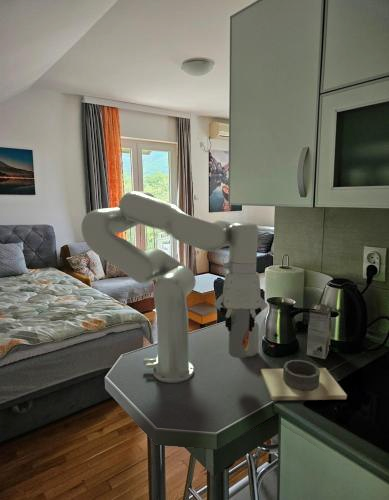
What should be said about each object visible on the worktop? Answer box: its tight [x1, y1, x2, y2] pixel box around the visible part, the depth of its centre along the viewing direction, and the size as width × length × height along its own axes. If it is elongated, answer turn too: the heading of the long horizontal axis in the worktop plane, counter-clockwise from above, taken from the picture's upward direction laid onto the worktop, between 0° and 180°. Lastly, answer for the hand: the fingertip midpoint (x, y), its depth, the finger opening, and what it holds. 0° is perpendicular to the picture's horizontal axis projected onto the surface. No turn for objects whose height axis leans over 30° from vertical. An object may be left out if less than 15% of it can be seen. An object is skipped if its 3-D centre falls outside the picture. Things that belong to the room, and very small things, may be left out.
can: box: [245, 318, 260, 358], centre depth 113 cm, size 8×8×12 cm
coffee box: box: [306, 302, 333, 360], centre depth 113 cm, size 9×6×16 cm
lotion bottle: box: [228, 308, 250, 359], centre depth 93 cm, size 6×6×20 cm
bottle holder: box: [260, 359, 348, 401], centre depth 94 cm, size 20×14×5 cm
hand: (239, 328), depth 94 cm, fingers closed on lotion bottle, 5 cm apart
